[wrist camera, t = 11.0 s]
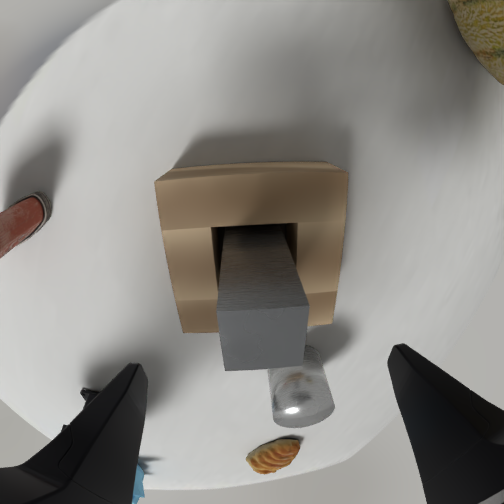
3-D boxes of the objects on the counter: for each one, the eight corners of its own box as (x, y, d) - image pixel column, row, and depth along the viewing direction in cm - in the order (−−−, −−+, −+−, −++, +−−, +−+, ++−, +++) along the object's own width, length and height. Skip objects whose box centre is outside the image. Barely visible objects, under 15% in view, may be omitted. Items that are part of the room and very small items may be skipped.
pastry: (271, 433, 33) (273, 455, 29) (310, 436, 34) (314, 457, 31) (243, 454, 36) (244, 474, 33) (279, 458, 38) (281, 476, 34)
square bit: (275, 256, 20) (302, 365, 11) (229, 258, 20) (225, 370, 11) (275, 213, 18) (309, 305, 9) (226, 215, 18) (216, 311, 9)
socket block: (318, 291, 22) (332, 323, 18) (190, 298, 21) (183, 332, 18) (326, 161, 17) (348, 172, 14) (171, 168, 17) (154, 181, 13)
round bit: (316, 376, 26) (329, 423, 21) (267, 381, 26) (272, 430, 21) (323, 342, 24) (339, 392, 19) (267, 347, 24) (273, 401, 19)
